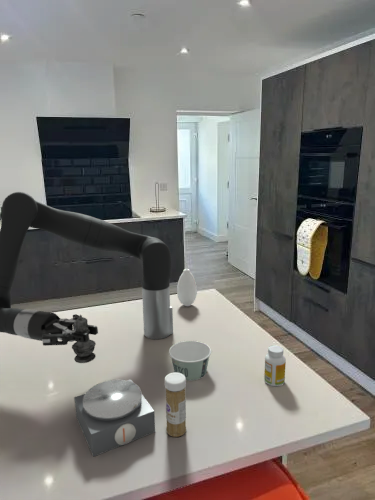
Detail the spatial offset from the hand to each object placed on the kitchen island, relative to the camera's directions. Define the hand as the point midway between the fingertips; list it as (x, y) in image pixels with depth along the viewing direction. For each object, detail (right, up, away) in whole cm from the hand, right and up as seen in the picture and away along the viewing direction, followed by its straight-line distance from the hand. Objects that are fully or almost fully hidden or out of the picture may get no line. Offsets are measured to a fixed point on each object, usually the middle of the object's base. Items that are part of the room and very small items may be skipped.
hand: (92, 334), depth 94 cm
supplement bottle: (+47, -15, +8) cm, 50 cm away
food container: (+25, -14, +13) cm, 31 cm away
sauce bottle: (+24, -2, +60) cm, 64 cm away
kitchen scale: (+7, -19, -8) cm, 22 cm away
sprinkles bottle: (+21, -20, -10) cm, 31 cm away
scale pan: (+7, -14, -9) cm, 18 cm away
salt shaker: (-2, -7, +3) cm, 8 cm away
